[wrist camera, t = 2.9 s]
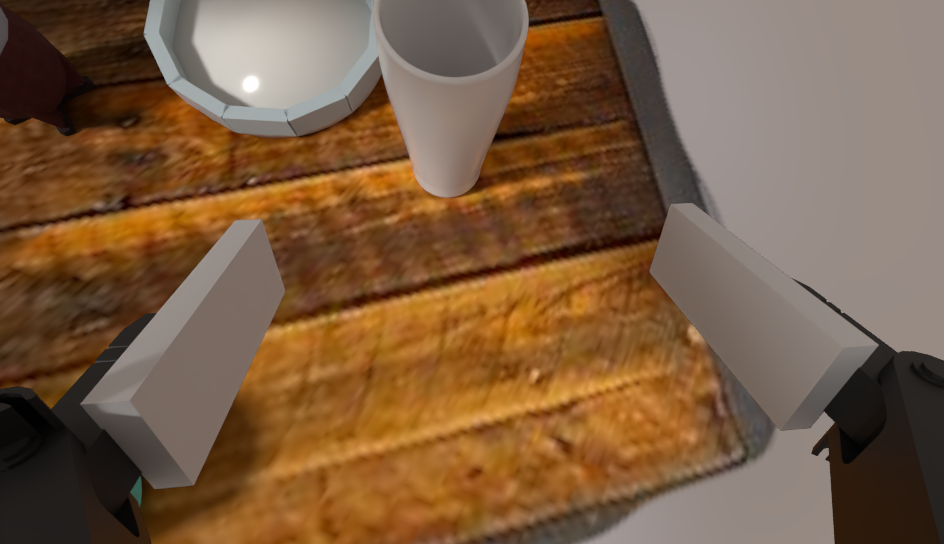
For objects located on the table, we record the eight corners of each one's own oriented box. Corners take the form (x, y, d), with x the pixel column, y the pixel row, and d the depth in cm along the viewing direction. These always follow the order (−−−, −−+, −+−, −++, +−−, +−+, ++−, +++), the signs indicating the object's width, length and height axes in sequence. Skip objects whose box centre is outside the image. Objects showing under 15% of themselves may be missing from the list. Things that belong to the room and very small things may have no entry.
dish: (122, 65, 31) (95, 41, 28) (258, -80, 34) (244, -113, 32) (307, 177, 30) (295, 163, 28) (426, 20, 34) (425, -6, 31)
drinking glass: (435, 113, 32) (431, -83, 17) (505, 159, 32) (560, -1, 17) (386, 177, 31) (335, 24, 16) (458, 225, 30) (474, 114, 16)
